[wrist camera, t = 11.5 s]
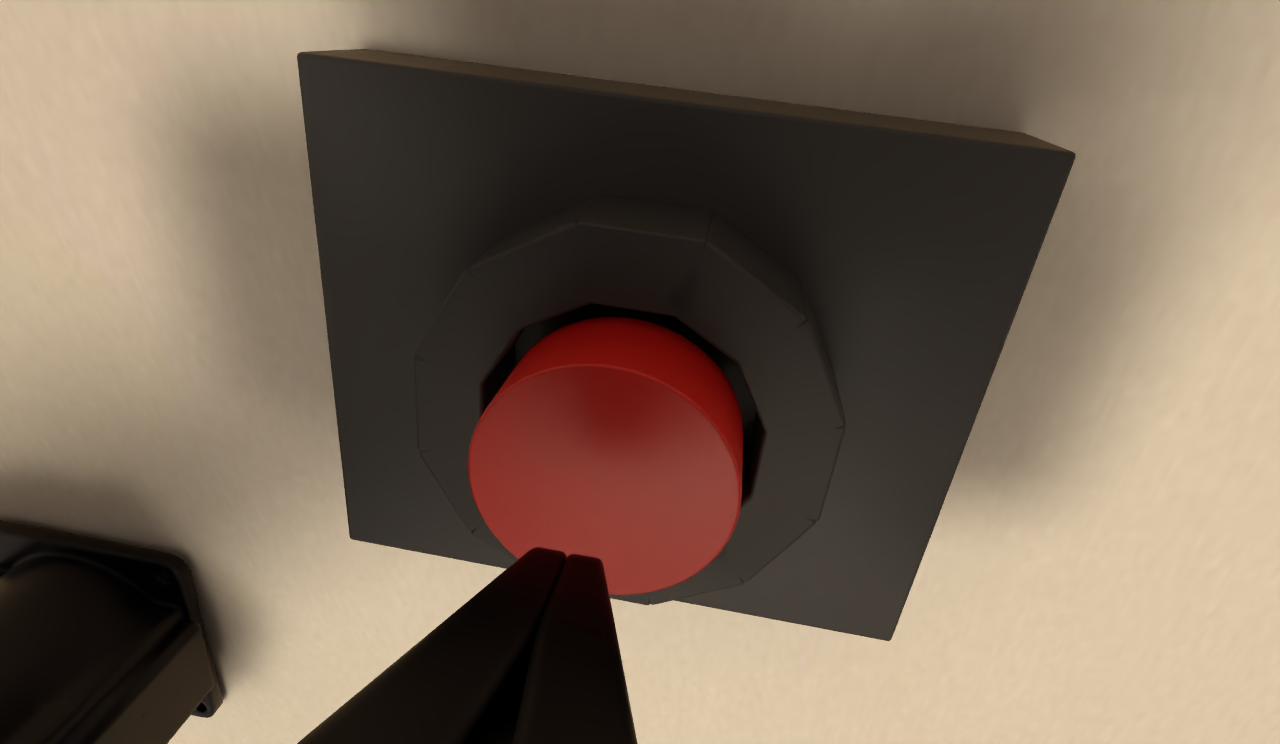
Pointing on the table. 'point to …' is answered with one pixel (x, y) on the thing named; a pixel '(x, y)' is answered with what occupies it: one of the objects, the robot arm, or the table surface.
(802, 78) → the table surface
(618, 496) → the button
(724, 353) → the button box
